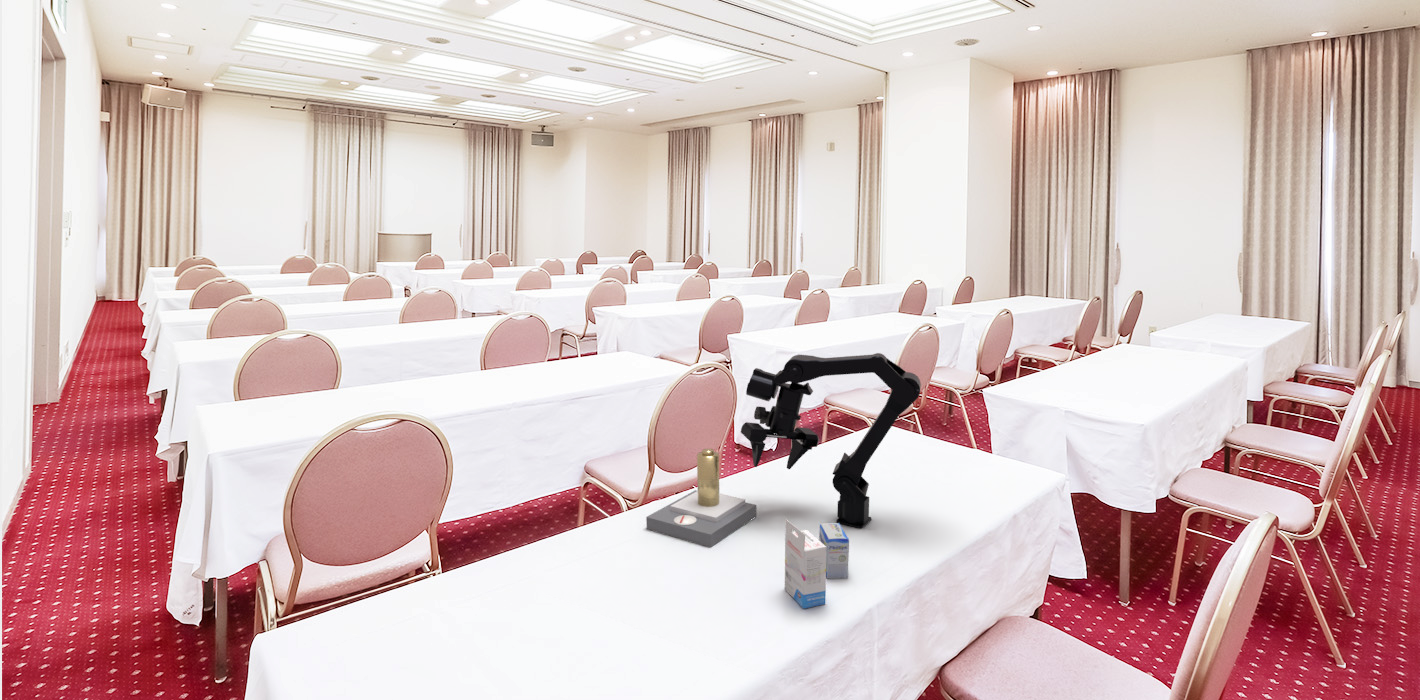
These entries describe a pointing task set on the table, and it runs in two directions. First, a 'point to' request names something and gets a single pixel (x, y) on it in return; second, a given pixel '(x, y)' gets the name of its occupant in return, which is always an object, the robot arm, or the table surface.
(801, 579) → the ink box
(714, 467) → the brass weight
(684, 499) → the scale
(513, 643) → the table surface
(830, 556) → the medicine box
